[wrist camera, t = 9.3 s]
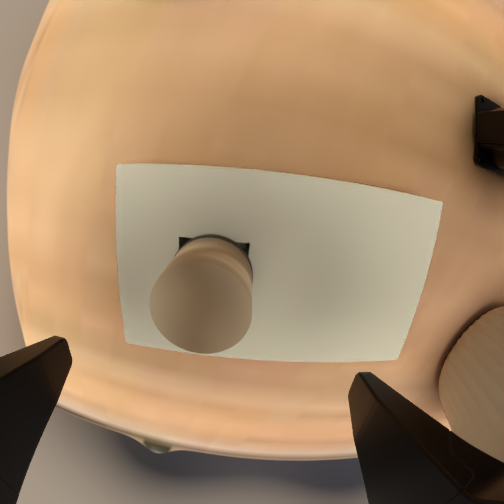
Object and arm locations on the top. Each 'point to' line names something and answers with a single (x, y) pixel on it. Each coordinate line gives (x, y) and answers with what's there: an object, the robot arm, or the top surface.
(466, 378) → the canister
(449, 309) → the top surface
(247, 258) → the peg
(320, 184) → the board
